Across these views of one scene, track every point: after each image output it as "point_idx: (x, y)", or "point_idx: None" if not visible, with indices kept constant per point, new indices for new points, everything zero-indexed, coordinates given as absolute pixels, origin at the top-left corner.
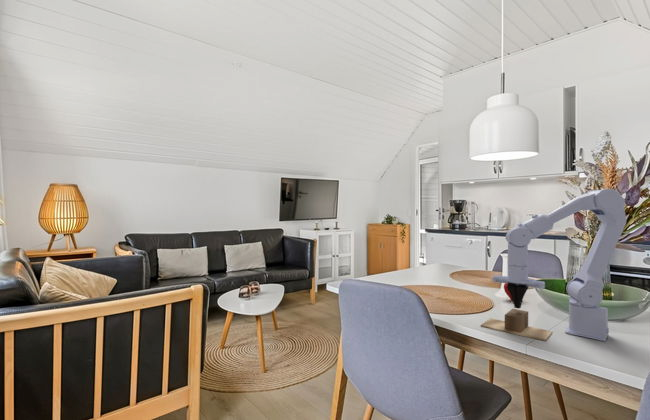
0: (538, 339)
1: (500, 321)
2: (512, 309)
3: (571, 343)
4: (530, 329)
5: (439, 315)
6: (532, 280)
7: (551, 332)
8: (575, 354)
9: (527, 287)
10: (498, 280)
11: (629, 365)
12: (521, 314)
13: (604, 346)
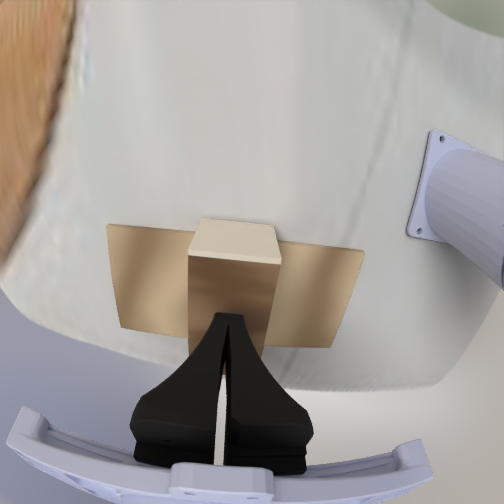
0: (310, 345)
1: (154, 247)
2: (191, 273)
3: (395, 315)
4: (285, 280)
5: (5, 284)
6: (357, 493)
7: (359, 269)
8: (379, 372)
9: (300, 452)
10: (63, 448)
11: (450, 356)
12: (253, 335)
13: (462, 284)
